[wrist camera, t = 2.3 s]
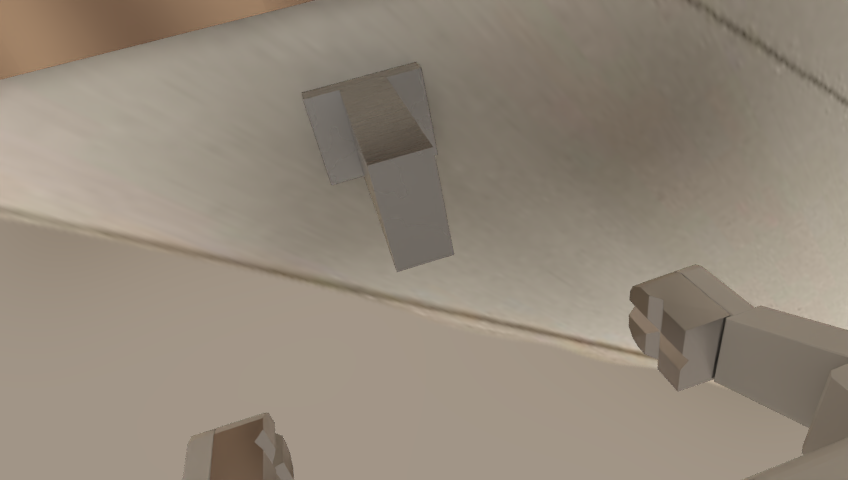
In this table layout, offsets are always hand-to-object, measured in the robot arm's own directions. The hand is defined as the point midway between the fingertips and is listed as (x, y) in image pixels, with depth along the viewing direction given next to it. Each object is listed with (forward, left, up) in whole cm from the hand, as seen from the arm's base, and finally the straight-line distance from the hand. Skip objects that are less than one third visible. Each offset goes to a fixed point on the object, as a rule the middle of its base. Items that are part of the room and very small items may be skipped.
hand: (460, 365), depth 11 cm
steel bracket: (0, 0, -15) cm, 15 cm away
